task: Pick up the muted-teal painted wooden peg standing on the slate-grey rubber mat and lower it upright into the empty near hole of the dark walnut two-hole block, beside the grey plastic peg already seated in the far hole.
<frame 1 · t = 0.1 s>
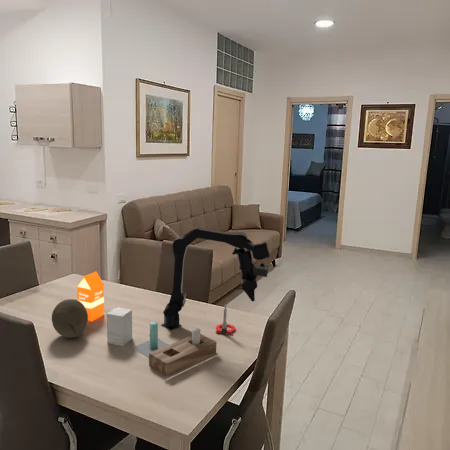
hand: (253, 297, 180), 15 cm above the table, tool pointing down, fingers open, 9 cm apart
teal peg: (153, 347, 164), resting on mat
hole block: (183, 359, 157), on the table
tow hook: (225, 330, 183), on the table
supplement box: (119, 341, 169), on the table
grey peg: (195, 354, 161), resting in hole block
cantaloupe: (70, 336, 172), on the table
mat: (153, 348, 164), on the table
orange juice: (91, 316, 191), on the table
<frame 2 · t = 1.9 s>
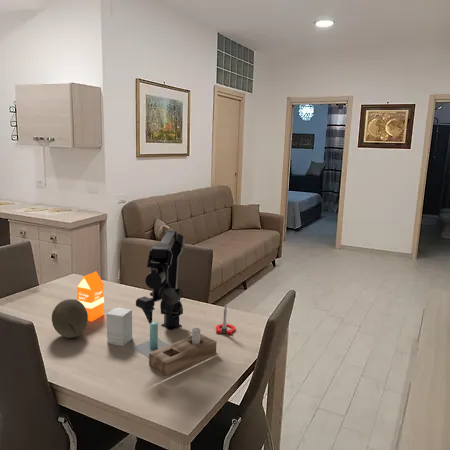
hand: (159, 319, 161), 13 cm above the table, tool pointing down, fingers open, 9 cm apart
nothing on the table moved.
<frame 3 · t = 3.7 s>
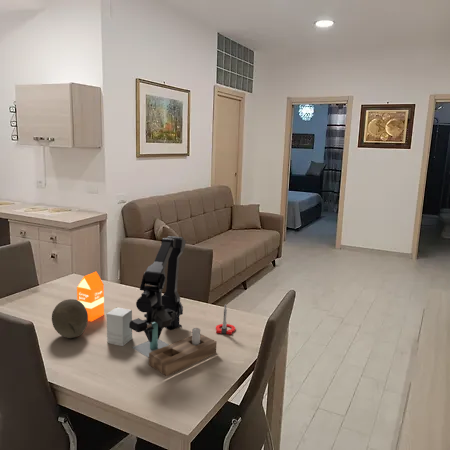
hand: (153, 340, 163), 3 cm above the table, tool pointing down, fingers closed on teal peg, 3 cm apart
teal peg: (153, 347, 164), resting on mat, touching gripper
everything else where it was.
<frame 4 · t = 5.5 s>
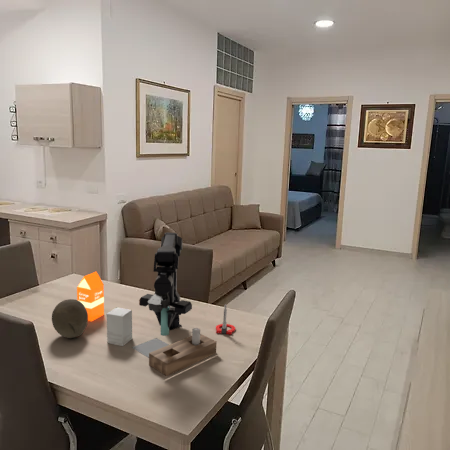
hand: (165, 326, 153), 13 cm above the table, tool pointing down, fingers closed on teal peg, 3 cm apart
teal peg: (164, 333, 154), point 10 cm above the table, touching gripper
everything else where it was.
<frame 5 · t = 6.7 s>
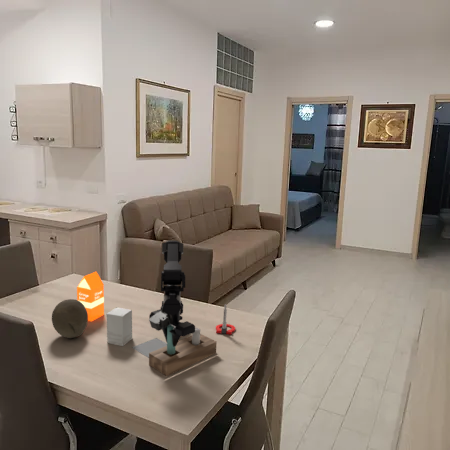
hand: (171, 344, 151), 8 cm above the table, tool pointing down, fingers closed on teal peg, 3 cm apart
teal peg: (171, 352, 152), point 5 cm above the table, touching gripper
everything else where it was.
when the fingers open (6 cm above the table, at t = 7.3 s): teal peg drops 3 cm, resting in hole block.
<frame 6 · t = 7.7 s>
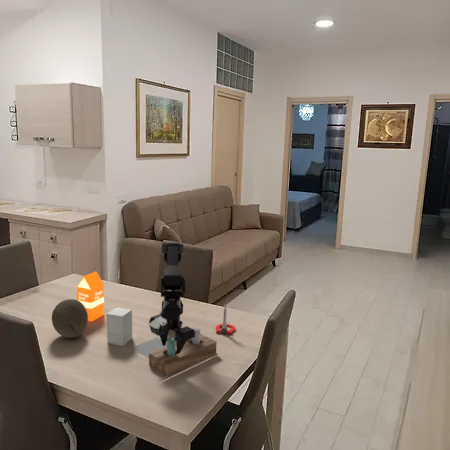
hand: (171, 349, 151), 6 cm above the table, tool pointing down, fingers open, 8 cm apart
teal peg: (170, 365, 153), resting in hole block
everything else where it was.
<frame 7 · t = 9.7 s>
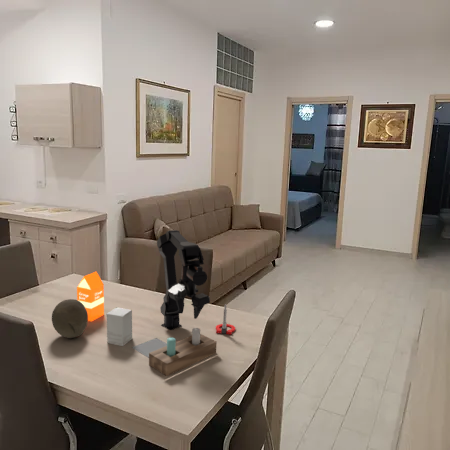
hand: (187, 314, 166), 13 cm above the table, tool pointing down, fingers open, 9 cm apart
nothing on the table moved.
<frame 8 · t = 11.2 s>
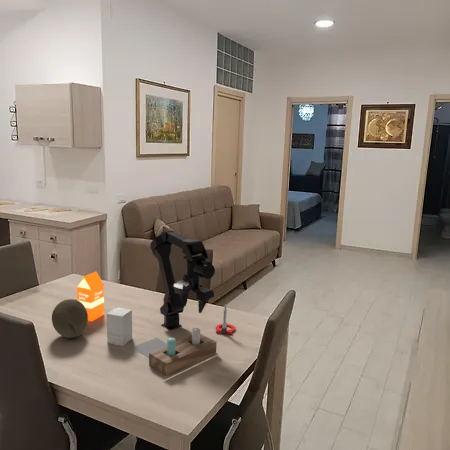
hand: (192, 309, 170), 13 cm above the table, tool pointing down, fingers open, 9 cm apart
nothing on the table moved.
at the end: teal peg 0.1 cm from the target spot on the hole block, point 0.0 cm above the hole block's base; teal peg tilted 0°; the gripper is holding nothing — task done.
